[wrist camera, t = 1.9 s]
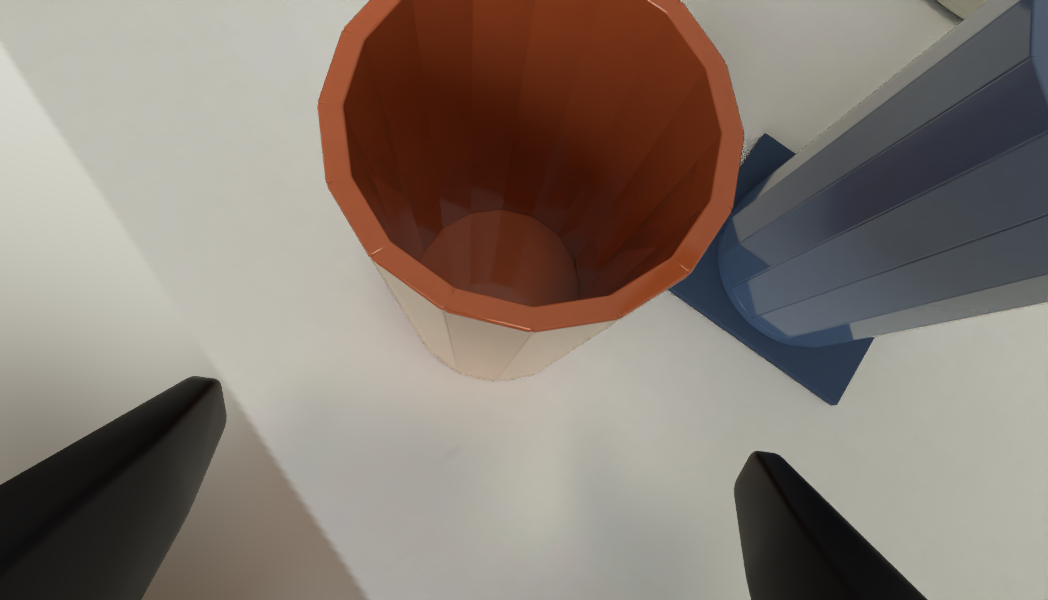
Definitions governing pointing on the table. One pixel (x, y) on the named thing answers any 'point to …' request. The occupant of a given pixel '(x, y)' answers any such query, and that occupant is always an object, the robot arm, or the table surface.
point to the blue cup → (909, 197)
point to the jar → (962, 6)
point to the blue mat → (705, 292)
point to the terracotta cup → (528, 165)
